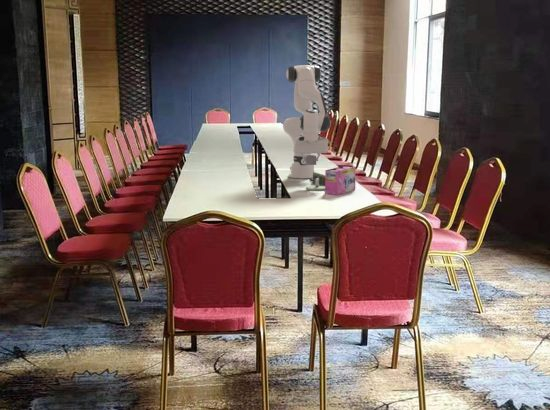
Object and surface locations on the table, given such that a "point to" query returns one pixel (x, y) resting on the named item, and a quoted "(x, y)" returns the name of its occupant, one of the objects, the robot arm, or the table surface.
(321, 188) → the post board
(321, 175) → the handheld radio
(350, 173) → the gum box
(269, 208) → the table surface
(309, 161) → the collar
